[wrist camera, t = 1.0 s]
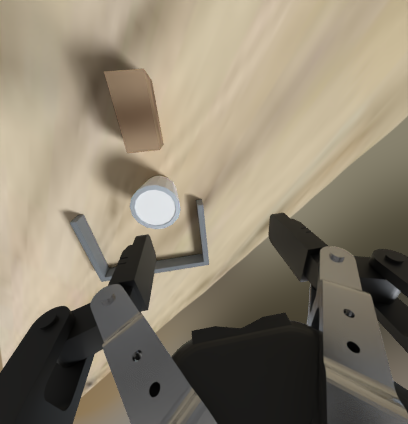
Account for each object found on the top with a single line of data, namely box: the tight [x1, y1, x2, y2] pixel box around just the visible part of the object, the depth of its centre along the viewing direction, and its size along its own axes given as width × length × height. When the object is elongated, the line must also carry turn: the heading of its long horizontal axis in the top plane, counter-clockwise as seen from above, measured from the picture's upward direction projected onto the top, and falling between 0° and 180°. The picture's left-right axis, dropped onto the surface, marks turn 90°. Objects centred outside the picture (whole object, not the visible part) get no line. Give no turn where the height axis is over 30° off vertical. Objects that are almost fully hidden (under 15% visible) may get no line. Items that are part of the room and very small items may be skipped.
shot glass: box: [130, 176, 180, 229], centre depth 27 cm, size 7×7×7 cm
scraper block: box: [104, 69, 164, 153], centre depth 22 cm, size 8×4×6 cm, turn 5°
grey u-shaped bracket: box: [70, 199, 209, 282], centre depth 33 cm, size 14×22×2 cm, turn 95°
